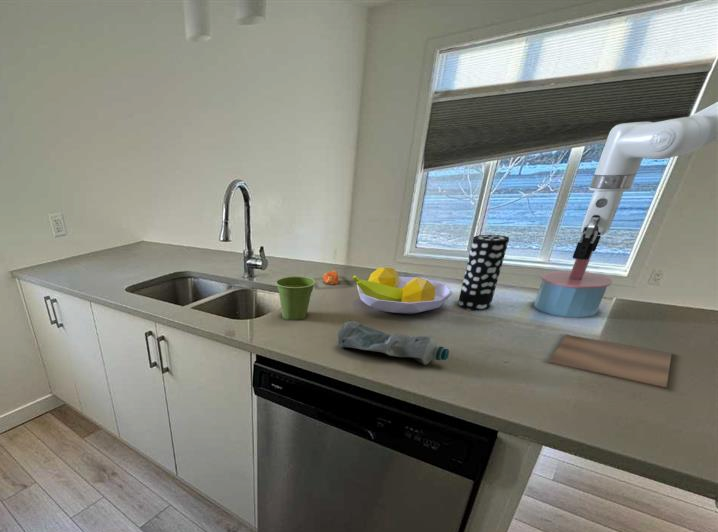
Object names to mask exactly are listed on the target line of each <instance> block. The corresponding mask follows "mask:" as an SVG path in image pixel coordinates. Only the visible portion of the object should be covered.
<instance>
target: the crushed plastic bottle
mask: <svg viewBox="0 0 718 532" xmlns="http://www.w3.org/2000/svg"><path fill="white" fill-rule="evenodd" d="M337 337H338V338H337V343H338V347H339V348H340V349H345V348H352V349H357V350H361V351H371V352H378V353H382V354H386V355H387V356H390V357H397V358H412V359H413V360H414V361H417V362H418V363H419V364H422V365H424V366H426V365H428V364H429V363H430V362H431V361H432V360H435V361H447V359H448V358H449V354H450V349H449V348H446V347H444V346H440V345H439V346H438V345H437V342H436V340H435V339H434V337H431V336H427V335H426V336H422V335H421V336H410V335H407V334H405V333H400V332H396V333H394V334H389V333H386V332H383V331H381V330H377V329H375V328H372V327H369V326H367V325H365V324H362V323H359V322H358V321H355V320H347V321H346V322H344V323H343V325H342V327H341V328H340V330H338V332H337Z"/></svg>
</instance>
